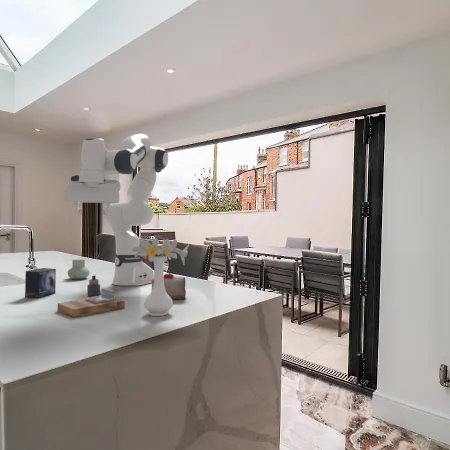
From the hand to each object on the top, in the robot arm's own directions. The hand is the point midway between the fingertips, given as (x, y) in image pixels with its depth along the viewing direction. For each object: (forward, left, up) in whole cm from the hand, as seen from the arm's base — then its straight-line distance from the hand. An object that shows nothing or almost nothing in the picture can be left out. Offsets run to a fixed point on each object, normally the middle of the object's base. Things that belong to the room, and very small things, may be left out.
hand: (92, 214), depth 141 cm
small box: (+12, -19, -33) cm, 40 cm away
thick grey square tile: (+6, +17, -30) cm, 35 cm away
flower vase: (-4, +38, -33) cm, 50 cm away
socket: (+9, +17, -33) cm, 38 cm away
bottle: (+2, +5, -33) cm, 33 cm away
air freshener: (-18, -49, -33) cm, 62 cm away
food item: (-21, +21, -33) cm, 45 cm away
